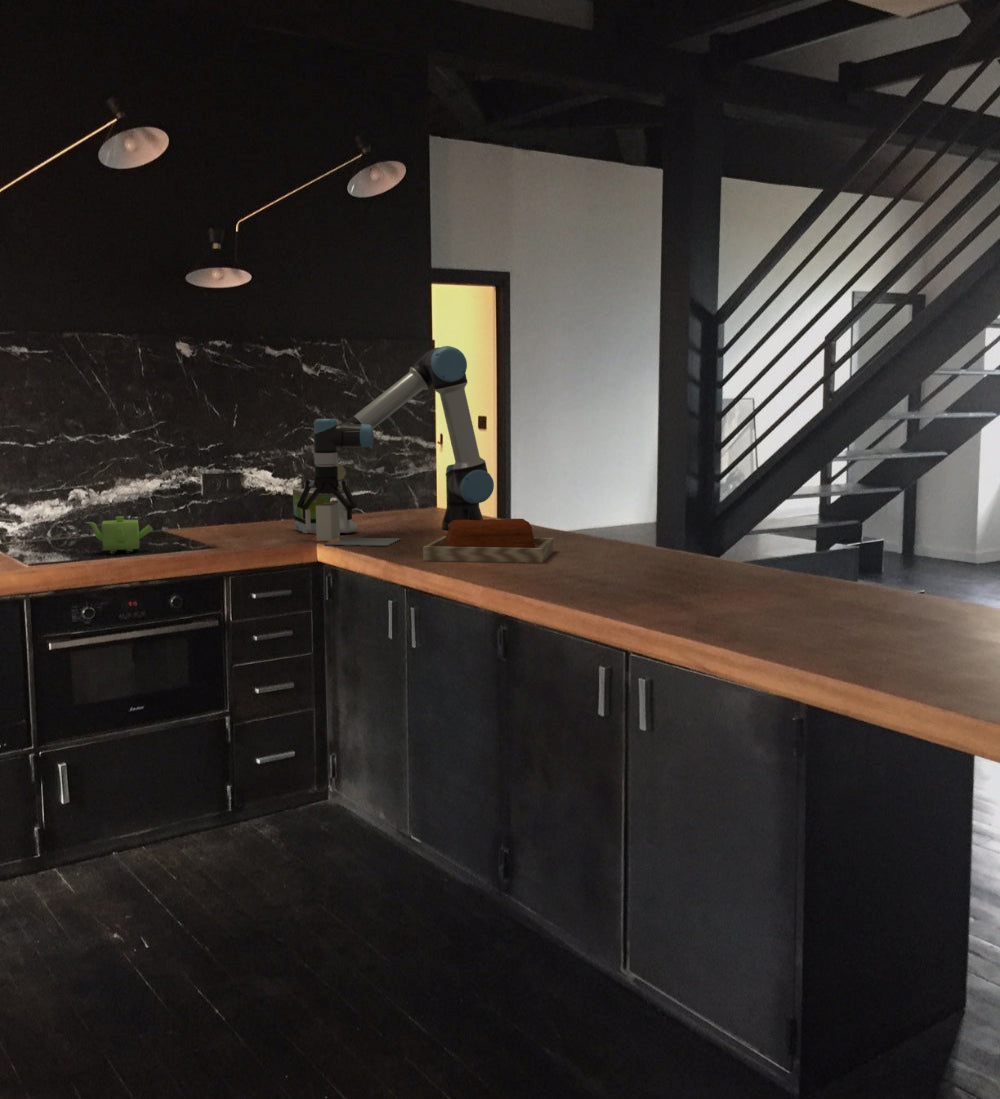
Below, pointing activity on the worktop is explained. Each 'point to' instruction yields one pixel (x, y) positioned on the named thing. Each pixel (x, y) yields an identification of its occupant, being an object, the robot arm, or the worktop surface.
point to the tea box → (298, 512)
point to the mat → (365, 541)
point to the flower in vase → (341, 508)
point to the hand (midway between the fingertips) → (327, 529)
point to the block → (327, 521)
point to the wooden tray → (488, 552)
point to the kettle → (120, 534)
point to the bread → (490, 533)
